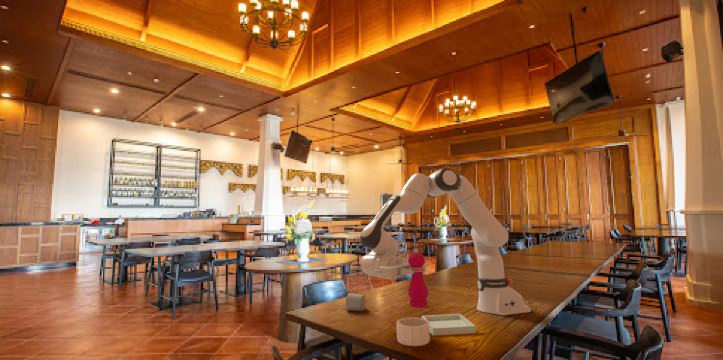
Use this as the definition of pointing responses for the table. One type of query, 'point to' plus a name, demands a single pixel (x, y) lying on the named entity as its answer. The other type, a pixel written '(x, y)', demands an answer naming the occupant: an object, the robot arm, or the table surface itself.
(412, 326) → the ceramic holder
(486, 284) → the robot arm
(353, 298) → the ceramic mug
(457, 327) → the sage tray
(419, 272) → the pepper mill
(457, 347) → the table surface
